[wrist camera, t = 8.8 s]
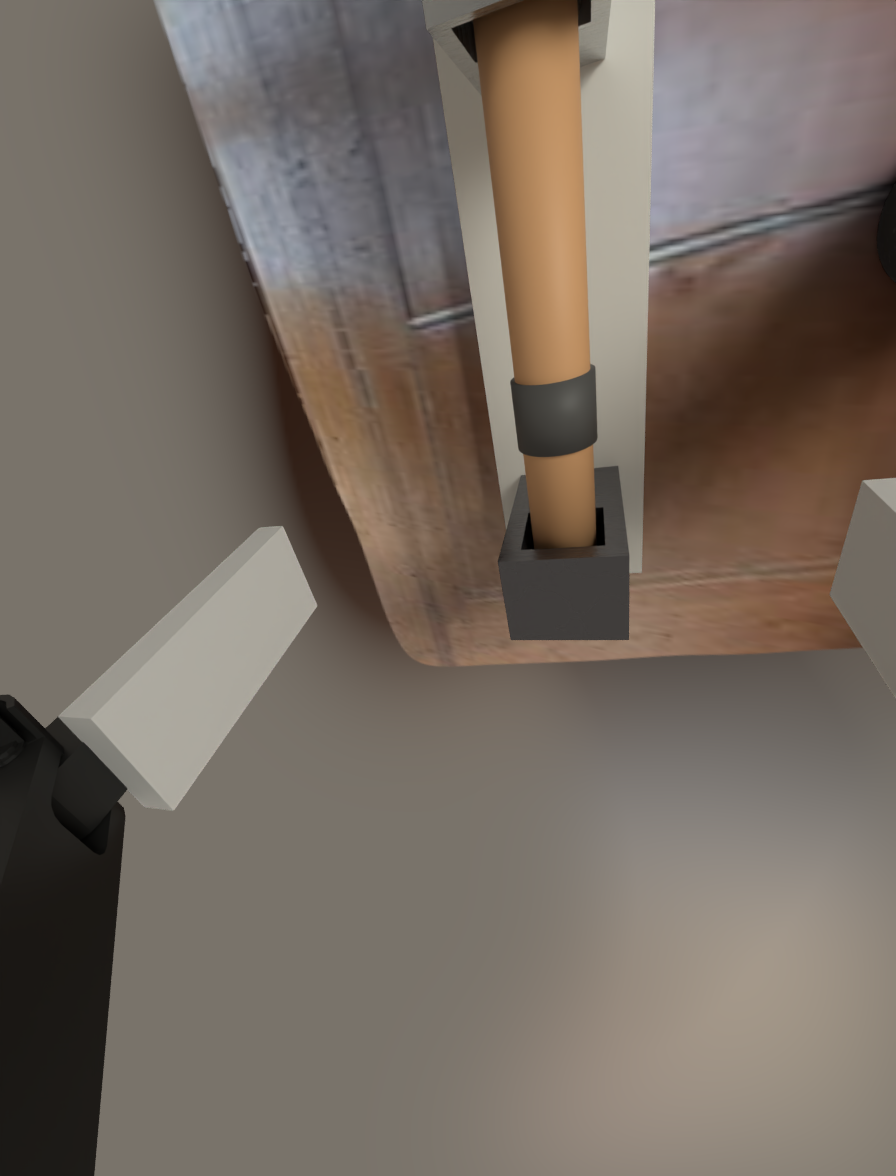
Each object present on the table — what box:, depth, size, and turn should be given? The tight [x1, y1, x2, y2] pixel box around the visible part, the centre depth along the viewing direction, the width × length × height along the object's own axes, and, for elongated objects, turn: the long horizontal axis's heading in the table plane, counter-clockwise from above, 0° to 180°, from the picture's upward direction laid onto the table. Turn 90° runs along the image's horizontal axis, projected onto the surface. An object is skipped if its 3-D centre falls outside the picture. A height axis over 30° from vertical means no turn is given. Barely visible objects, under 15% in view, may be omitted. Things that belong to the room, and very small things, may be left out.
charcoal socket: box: [498, 466, 629, 640], centre depth 29 cm, size 5×6×10 cm
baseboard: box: [433, 0, 655, 573], centre depth 26 cm, size 37×9×2 cm, turn 12°
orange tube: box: [473, 0, 598, 549], centre depth 21 cm, size 22×4×4 cm, turn 12°
